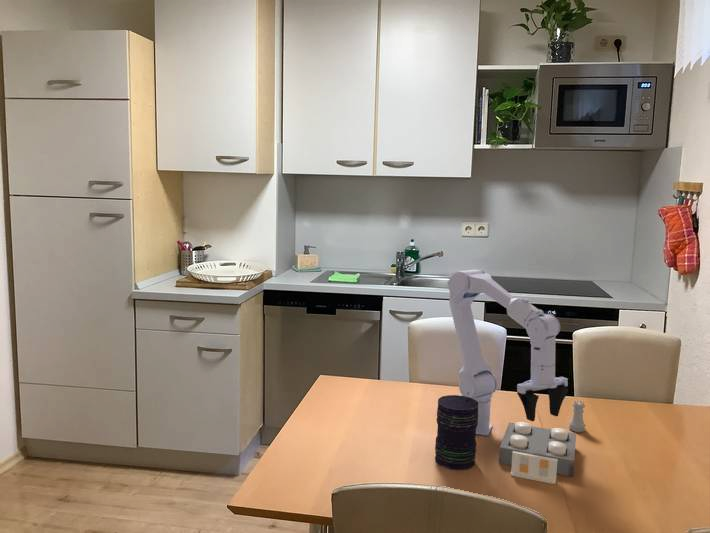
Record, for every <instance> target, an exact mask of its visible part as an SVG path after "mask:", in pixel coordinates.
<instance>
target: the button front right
mask: <svg viewBox="0 0 710 533" xmlns="http://www.w3.org/2000/svg"><path fill="white" fill-rule="evenodd" d="M547 453H551V454H556V455H562V456H567V453H566V445H565V444H564V443H562V442H557V441H552V442H549V447H548V449H547Z"/></svg>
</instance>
